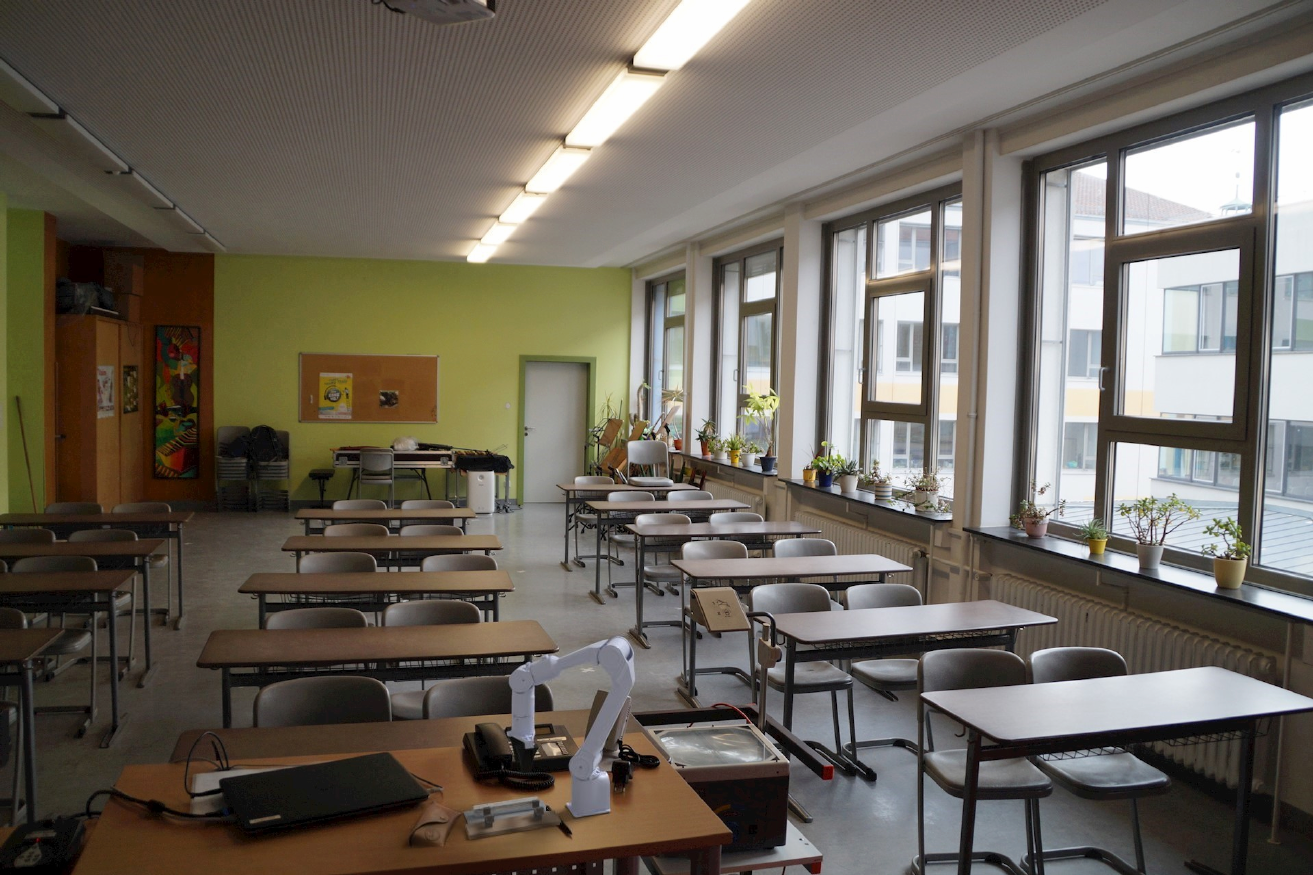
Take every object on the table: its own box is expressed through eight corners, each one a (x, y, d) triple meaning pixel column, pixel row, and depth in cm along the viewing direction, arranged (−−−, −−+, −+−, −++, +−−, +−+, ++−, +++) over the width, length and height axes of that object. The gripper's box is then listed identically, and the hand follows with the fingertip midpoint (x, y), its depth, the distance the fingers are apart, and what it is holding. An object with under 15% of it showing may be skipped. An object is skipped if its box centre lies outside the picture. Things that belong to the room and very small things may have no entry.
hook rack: (554, 814, 223) (554, 796, 223) (560, 824, 217) (561, 806, 217) (465, 828, 215) (465, 809, 215) (469, 839, 209) (469, 820, 209)
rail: (536, 804, 227) (536, 796, 227) (538, 808, 225) (538, 799, 225) (473, 814, 222) (473, 805, 221) (474, 818, 219) (474, 809, 219)
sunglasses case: (445, 847, 205) (430, 822, 205) (418, 862, 206) (404, 837, 205) (463, 812, 223) (449, 789, 223) (438, 826, 224) (425, 803, 223)
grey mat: (542, 801, 230) (542, 799, 230) (549, 812, 224) (549, 811, 224) (463, 812, 223) (463, 811, 223) (468, 825, 217) (468, 823, 217)
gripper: (501, 706, 234) (501, 758, 234) (513, 725, 220) (513, 779, 221) (528, 703, 236) (527, 754, 237) (541, 721, 223) (541, 775, 223)
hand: (522, 766), depth 229 cm, fingers open, 7 cm apart
